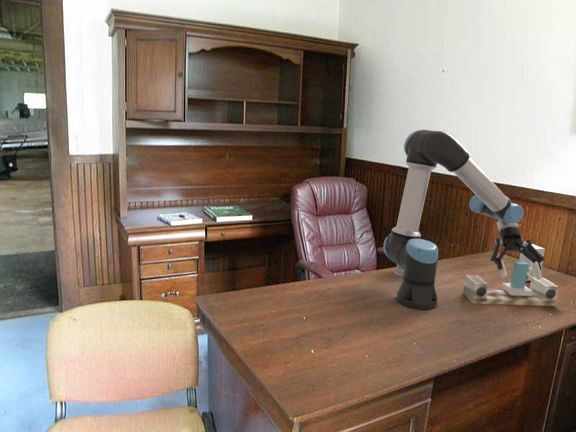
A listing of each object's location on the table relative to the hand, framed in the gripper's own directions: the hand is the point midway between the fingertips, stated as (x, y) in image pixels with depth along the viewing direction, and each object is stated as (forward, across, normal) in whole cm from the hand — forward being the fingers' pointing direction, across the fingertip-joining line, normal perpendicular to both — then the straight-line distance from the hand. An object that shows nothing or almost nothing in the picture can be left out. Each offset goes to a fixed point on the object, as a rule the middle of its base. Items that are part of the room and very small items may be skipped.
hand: (522, 277), depth 176 cm
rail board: (+6, +3, -9) cm, 11 cm away
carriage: (+4, 0, -7) cm, 8 cm away
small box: (-18, -24, -33) cm, 45 cm away
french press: (-13, +36, -28) cm, 48 cm away
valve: (-10, -19, -25) cm, 33 cm away
